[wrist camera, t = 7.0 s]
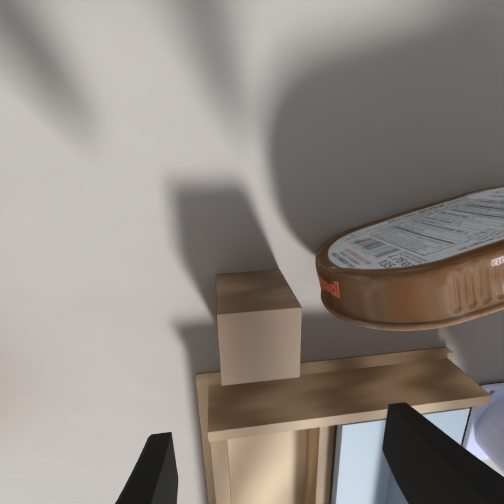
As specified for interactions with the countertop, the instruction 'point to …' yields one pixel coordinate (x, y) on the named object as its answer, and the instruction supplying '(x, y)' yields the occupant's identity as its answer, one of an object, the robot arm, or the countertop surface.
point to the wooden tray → (312, 420)
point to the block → (257, 327)
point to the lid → (377, 459)
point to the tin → (419, 266)
